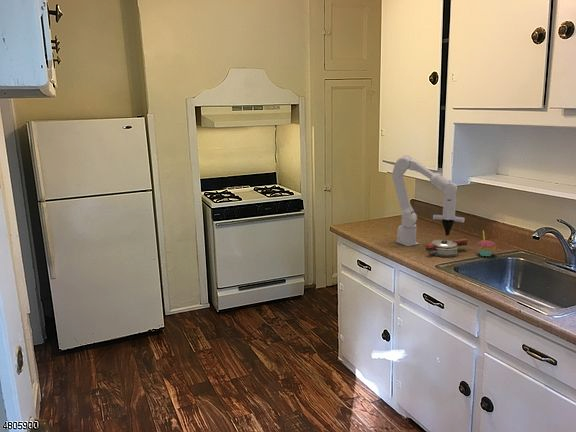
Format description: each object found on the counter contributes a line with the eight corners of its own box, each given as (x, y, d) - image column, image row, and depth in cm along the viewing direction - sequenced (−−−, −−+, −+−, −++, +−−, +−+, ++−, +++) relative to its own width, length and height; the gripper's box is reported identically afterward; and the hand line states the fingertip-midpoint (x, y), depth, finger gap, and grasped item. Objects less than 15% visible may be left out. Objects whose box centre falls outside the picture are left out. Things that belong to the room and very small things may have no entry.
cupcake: (472, 255, 225) (474, 230, 222) (480, 251, 231) (482, 226, 228) (490, 259, 219) (492, 233, 216) (498, 254, 225) (500, 229, 222)
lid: (434, 250, 219) (435, 246, 219) (419, 244, 229) (419, 240, 229) (474, 244, 227) (474, 240, 227) (458, 238, 237) (458, 235, 237)
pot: (418, 252, 230) (418, 244, 230) (455, 246, 239) (455, 238, 239) (436, 260, 219) (437, 251, 218) (474, 253, 228) (475, 244, 227)
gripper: (431, 207, 234) (430, 234, 237) (463, 210, 227) (461, 238, 230) (435, 205, 240) (434, 231, 243) (466, 208, 233) (464, 235, 236)
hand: (447, 234), depth 237 cm, fingers closed
